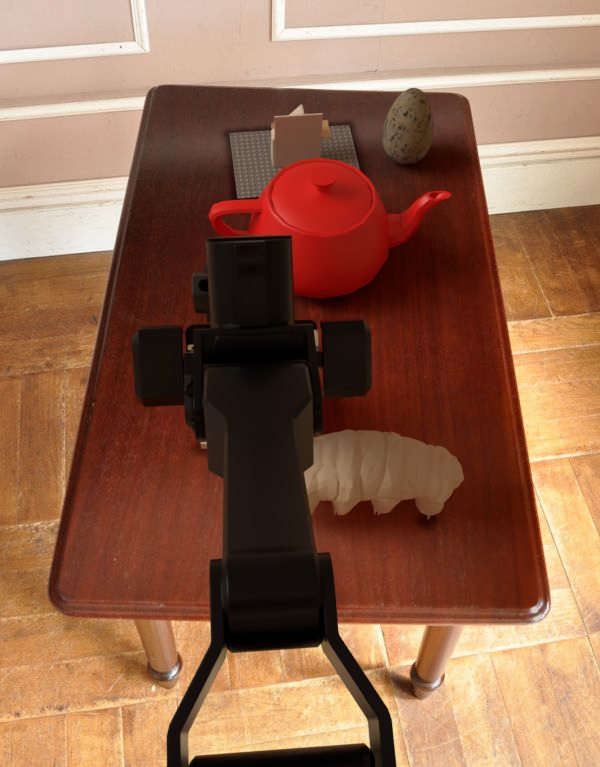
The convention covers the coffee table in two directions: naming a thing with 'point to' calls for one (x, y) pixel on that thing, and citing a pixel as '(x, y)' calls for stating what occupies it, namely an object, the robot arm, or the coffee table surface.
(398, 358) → the coffee table surface
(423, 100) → the decorative egg
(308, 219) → the teapot
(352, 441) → the model
